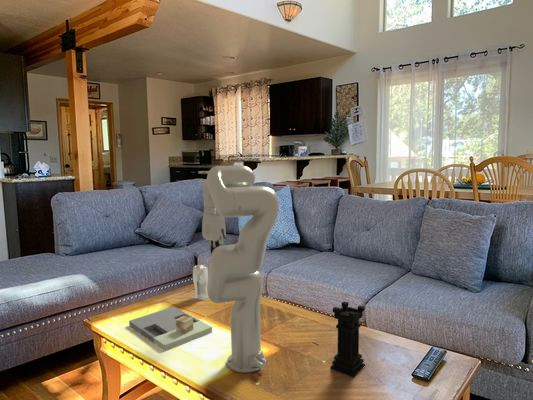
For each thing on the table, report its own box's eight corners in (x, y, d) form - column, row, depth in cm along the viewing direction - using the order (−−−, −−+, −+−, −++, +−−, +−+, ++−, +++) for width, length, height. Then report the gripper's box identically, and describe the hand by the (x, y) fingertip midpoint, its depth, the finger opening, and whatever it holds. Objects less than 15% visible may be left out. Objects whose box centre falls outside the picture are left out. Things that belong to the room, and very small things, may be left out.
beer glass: (192, 296, 192) (191, 265, 190) (207, 294, 194) (206, 263, 192) (194, 301, 186) (193, 269, 184) (210, 299, 188) (208, 268, 186)
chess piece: (342, 358, 135) (343, 300, 132) (365, 366, 130) (366, 306, 127) (330, 368, 129) (330, 308, 126) (353, 377, 124) (354, 315, 121)
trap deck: (212, 331, 155) (211, 327, 155) (165, 350, 142) (164, 345, 141) (173, 310, 175) (173, 306, 175) (129, 325, 162) (129, 320, 162)
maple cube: (193, 329, 153) (193, 318, 153) (185, 334, 150) (184, 322, 149) (184, 326, 156) (184, 315, 155) (176, 331, 152) (175, 319, 151)
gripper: (194, 209, 161) (196, 254, 163) (217, 214, 150) (219, 262, 153) (210, 207, 166) (211, 251, 169) (233, 211, 155) (234, 258, 158)
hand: (215, 256), depth 161 cm, fingers closed
